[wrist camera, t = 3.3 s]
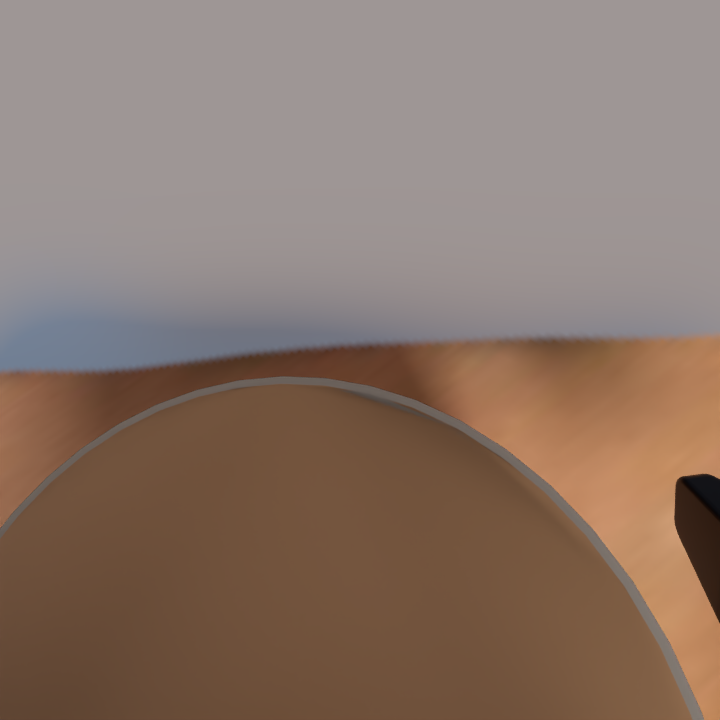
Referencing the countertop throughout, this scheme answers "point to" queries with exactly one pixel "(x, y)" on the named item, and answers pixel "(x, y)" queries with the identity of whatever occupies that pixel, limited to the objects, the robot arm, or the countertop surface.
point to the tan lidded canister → (316, 574)
